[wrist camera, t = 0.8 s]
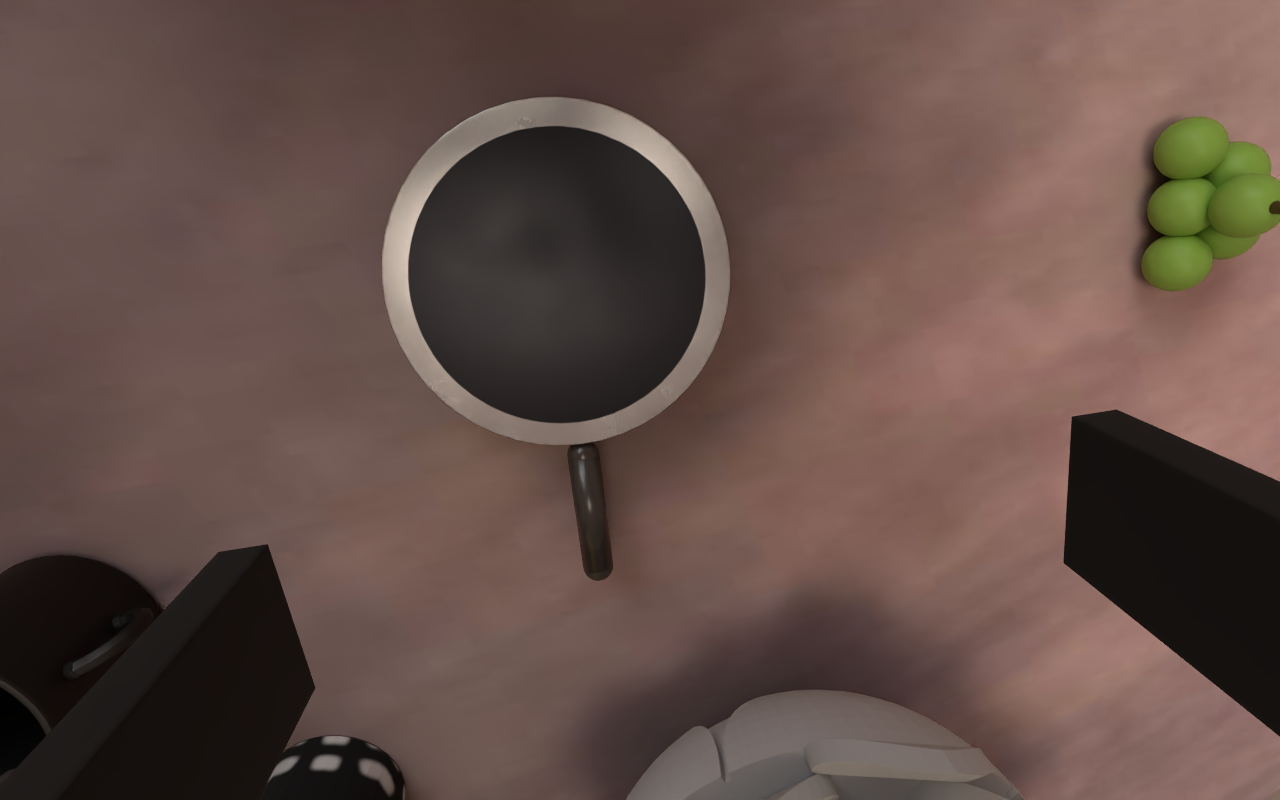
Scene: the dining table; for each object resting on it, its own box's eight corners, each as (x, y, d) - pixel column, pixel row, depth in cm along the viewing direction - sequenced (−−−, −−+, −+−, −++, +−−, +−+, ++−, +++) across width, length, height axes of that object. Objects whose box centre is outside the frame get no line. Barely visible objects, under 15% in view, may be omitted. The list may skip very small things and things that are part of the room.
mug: (243, 638, 41) (155, 760, 33) (61, 722, 42) (-73, 864, 33) (139, 504, 38) (13, 598, 30) (-55, 596, 39) (-233, 715, 30)
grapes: (1142, 122, 37) (1277, 109, 30) (1242, 111, 37) (1401, 95, 30) (1124, 289, 39) (1246, 315, 32) (1219, 278, 40) (1359, 300, 33)
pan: (367, 121, 34) (344, 115, 30) (705, 87, 35) (719, 78, 31) (458, 571, 41) (448, 606, 38) (735, 534, 42) (749, 566, 38)
